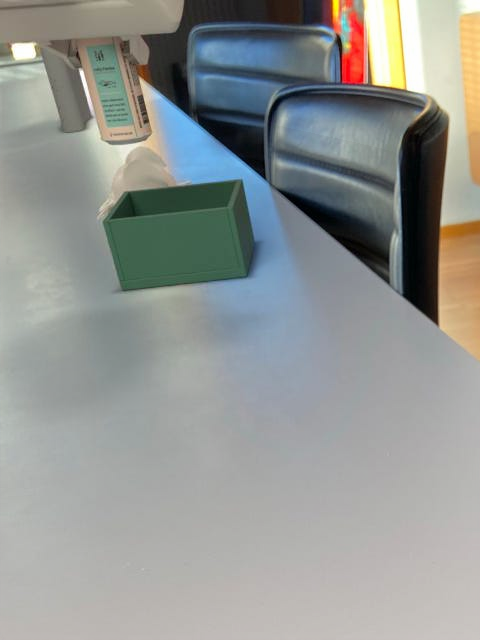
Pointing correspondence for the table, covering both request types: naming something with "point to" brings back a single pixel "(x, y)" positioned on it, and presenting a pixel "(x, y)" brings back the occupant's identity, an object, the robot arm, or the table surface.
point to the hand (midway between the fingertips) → (111, 60)
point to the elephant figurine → (139, 176)
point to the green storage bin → (180, 234)
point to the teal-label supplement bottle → (114, 91)
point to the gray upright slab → (67, 92)
